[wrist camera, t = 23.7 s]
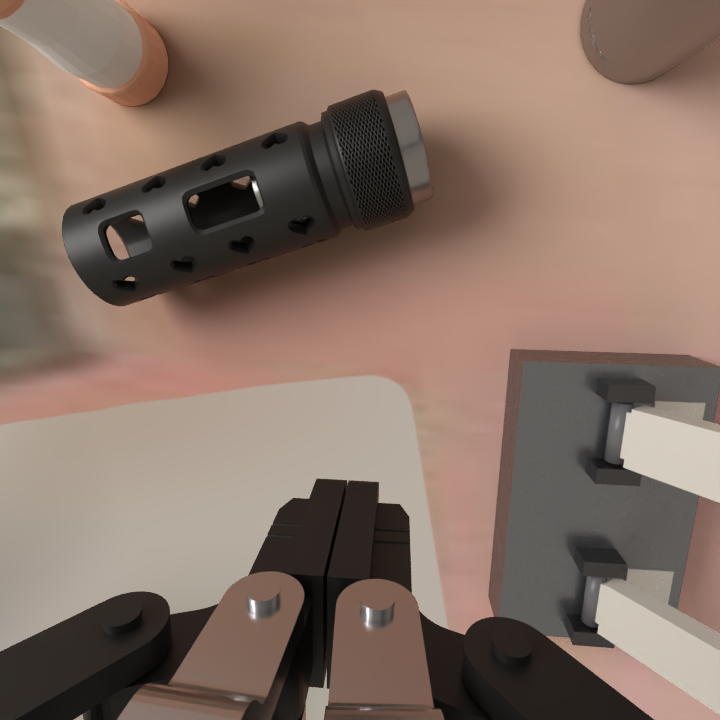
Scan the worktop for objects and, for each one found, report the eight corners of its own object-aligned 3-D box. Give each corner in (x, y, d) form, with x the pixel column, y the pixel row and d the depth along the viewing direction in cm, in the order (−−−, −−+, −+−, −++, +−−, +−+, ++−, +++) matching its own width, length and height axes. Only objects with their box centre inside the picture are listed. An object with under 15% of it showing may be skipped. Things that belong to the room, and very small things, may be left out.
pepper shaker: (129, 124, 44) (-73, 31, 25) (73, 56, 43) (-180, -93, 24) (185, 66, 42) (15, -79, 23) (128, -5, 41) (-96, -215, 23)
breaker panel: (488, 595, 51) (502, 650, 44) (510, 349, 45) (530, 367, 38) (643, 606, 50) (683, 664, 43) (688, 355, 44) (742, 374, 37)
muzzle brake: (118, 206, 46) (38, 194, 35) (401, 103, 41) (402, 56, 31) (156, 302, 47) (89, 316, 37) (431, 213, 43) (440, 201, 33)
